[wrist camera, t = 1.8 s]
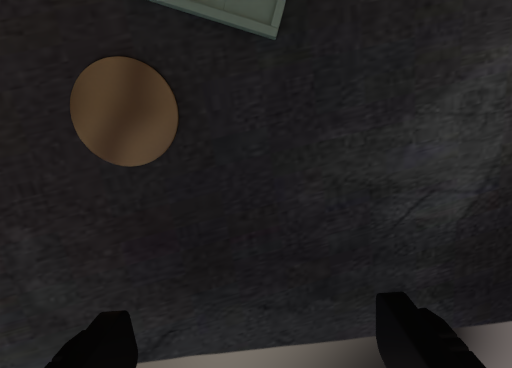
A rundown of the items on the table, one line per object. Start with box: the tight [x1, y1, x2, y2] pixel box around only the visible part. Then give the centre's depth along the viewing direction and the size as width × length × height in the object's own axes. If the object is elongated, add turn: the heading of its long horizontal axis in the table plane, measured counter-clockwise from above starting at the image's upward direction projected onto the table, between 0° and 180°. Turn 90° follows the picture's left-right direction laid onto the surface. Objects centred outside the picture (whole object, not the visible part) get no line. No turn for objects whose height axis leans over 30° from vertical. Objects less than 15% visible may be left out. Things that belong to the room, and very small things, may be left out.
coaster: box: [70, 56, 179, 166], centre depth 29 cm, size 11×11×1 cm
